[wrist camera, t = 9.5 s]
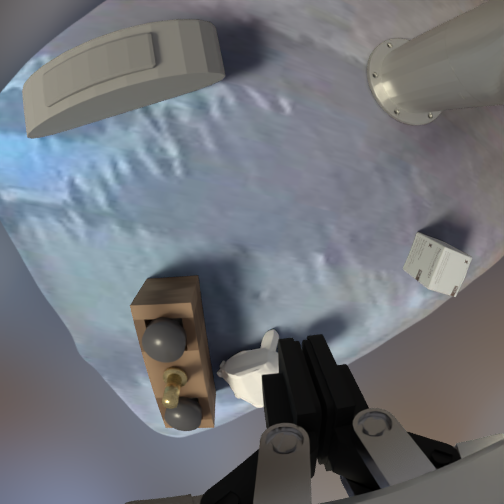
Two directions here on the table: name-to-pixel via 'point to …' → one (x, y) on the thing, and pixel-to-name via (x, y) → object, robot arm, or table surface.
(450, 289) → the skincare box
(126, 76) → the alarm clock
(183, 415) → the dark grey rounded lump
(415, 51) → the robot arm
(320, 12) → the table surface
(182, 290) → the walnut mount
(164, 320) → the knob
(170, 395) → the brass door knob
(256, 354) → the white piece
